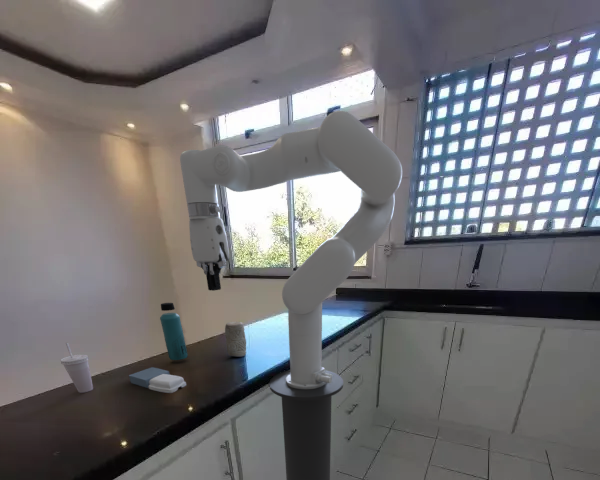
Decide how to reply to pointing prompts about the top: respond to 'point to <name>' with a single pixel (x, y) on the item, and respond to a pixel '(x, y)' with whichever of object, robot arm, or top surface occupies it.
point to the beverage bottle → (173, 333)
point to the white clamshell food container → (166, 383)
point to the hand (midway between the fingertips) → (214, 289)
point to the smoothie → (78, 370)
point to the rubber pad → (146, 376)
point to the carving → (235, 339)
